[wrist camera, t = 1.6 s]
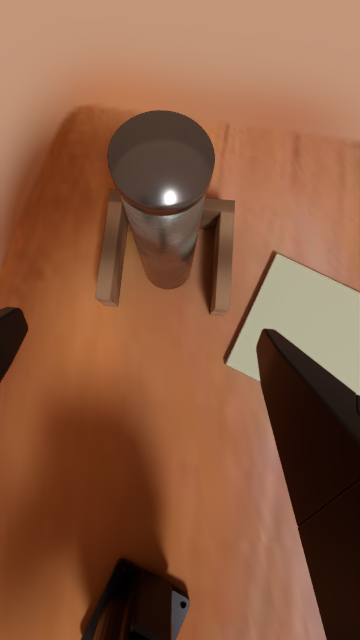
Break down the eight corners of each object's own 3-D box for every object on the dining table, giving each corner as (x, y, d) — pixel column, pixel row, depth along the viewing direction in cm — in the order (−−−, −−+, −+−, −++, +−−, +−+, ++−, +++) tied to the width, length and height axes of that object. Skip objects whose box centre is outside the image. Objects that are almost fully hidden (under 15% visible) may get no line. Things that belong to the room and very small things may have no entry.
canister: (178, 298, 23) (185, 223, 10) (135, 276, 23) (87, 175, 10) (199, 257, 23) (232, 137, 11) (157, 237, 24) (139, 94, 11)
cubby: (222, 315, 23) (229, 309, 20) (105, 305, 22) (94, 298, 19) (227, 219, 24) (234, 200, 21) (117, 209, 24) (110, 189, 21)
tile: (344, 424, 21) (348, 425, 21) (224, 364, 22) (226, 364, 21) (386, 308, 23) (390, 307, 23) (275, 255, 24) (277, 253, 23)
